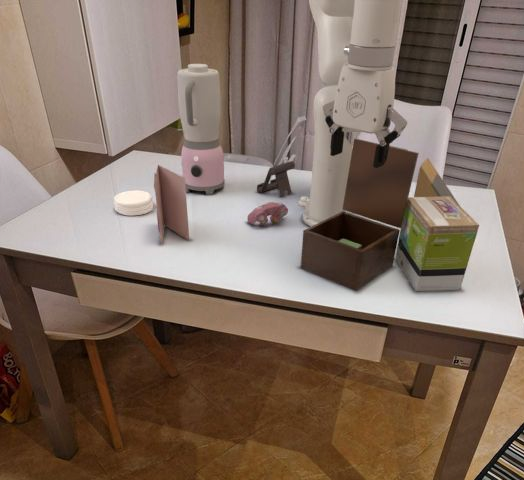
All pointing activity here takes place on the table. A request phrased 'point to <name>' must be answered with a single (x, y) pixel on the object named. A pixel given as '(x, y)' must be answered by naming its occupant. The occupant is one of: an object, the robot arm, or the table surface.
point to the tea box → (435, 243)
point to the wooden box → (349, 249)
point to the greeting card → (171, 202)
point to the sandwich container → (431, 182)
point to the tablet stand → (277, 179)
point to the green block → (351, 243)
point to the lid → (379, 183)
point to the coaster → (133, 203)
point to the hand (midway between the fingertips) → (356, 160)
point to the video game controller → (267, 213)
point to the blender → (201, 128)
